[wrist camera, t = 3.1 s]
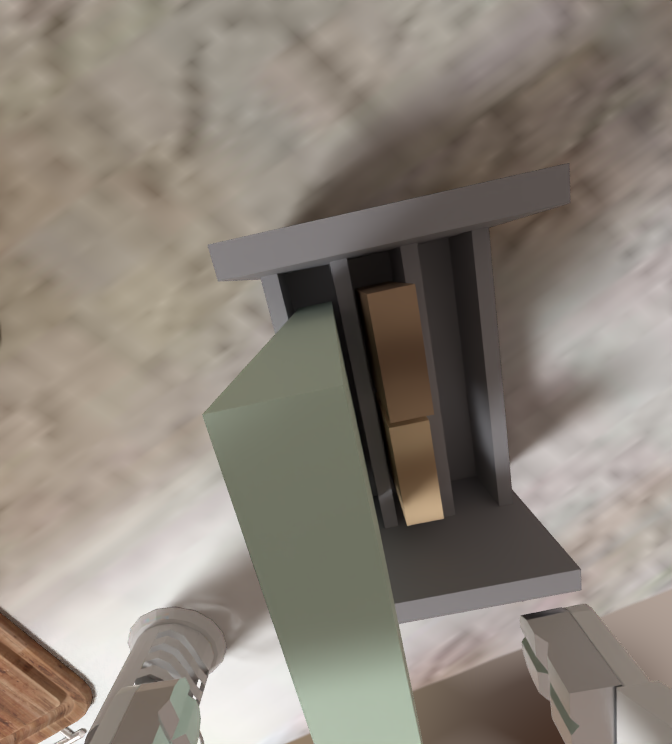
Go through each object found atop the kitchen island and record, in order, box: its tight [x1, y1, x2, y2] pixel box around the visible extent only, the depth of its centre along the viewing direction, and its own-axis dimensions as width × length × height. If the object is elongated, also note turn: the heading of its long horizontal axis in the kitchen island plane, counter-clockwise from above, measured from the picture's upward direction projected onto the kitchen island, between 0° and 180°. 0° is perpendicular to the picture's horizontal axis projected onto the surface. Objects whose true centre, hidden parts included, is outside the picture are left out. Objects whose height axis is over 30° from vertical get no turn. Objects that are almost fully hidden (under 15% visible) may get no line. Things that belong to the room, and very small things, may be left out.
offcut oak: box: [375, 393, 444, 526], centre depth 25 cm, size 7×2×6 cm, turn 12°
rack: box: [208, 163, 582, 624], centre depth 23 cm, size 22×15×12 cm
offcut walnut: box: [355, 282, 434, 423], centre depth 22 cm, size 7×2×8 cm, turn 12°
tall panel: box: [202, 301, 423, 744], centre depth 17 cm, size 14×2×20 cm, turn 12°
